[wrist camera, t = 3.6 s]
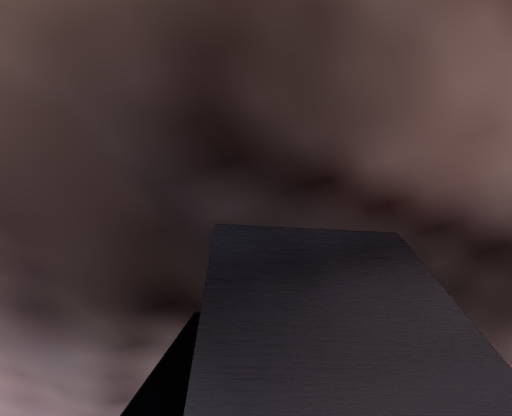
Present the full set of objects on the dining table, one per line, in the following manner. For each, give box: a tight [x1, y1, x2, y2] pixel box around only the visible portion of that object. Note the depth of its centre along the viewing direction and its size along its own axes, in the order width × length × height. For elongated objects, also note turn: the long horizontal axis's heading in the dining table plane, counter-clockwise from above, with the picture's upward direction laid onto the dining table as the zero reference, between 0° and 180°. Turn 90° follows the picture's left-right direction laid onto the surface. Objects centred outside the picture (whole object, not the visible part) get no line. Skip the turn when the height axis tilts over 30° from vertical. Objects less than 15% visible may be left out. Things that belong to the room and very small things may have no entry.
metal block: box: [183, 224, 512, 416], centre depth 7 cm, size 5×5×5 cm
